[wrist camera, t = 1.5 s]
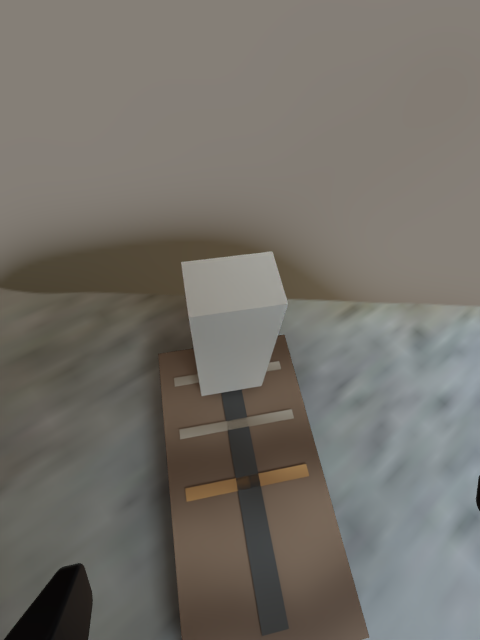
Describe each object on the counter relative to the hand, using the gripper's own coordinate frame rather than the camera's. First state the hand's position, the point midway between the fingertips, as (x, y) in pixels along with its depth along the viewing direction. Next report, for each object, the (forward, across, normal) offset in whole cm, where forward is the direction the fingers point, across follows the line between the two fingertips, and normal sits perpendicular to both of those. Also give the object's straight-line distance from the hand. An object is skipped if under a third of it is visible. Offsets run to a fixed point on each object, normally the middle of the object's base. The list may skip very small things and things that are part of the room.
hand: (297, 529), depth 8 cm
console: (+11, 0, +8) cm, 14 cm away
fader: (+13, 0, +2) cm, 13 cm away
